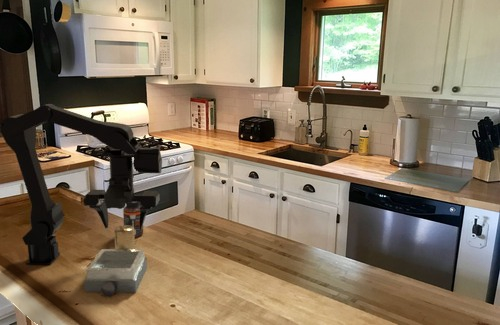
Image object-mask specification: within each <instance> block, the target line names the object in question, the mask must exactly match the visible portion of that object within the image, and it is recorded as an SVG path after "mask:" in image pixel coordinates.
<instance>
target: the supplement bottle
mask: <svg viewBox="0 0 500 325" xmlns="http://www.w3.org/2000/svg"><path fill="white" fill-rule="evenodd" d="M140 207H141V204H140V202H132V203H126V204H125V207H124V208H122V209H123V210H122V214H123V225H130V226H133V227H134V236H135V238H138V237H140V236H142V235H143V234H144V225H143V226H142V228H141V229H140V227H139V222H140Z"/></svg>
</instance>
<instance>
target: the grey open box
mask: <svg viewBox="0 0 500 325" xmlns="http://www.w3.org/2000/svg"><path fill="white" fill-rule="evenodd" d="M147 259H148V258H147V257H145V249H135V250H120V249H115V248H113V249H111V248H109V249H106V248H105V249H103V248H102V249H101V250H100V251H99V252H98V253H97V255H96V256H95V258H94V259H93V260H92V262H90V264H89V265H88V267H87V268H86V270H85V271H86V274H85V275H86V276H85V278H84V279H83V287H84V293H101V294H102V295H103V296H104V297H112V296H113V295H114V293H130V294H131V293H133V294H135V293H137V291H138V289H139V286H140V285H141V282H142V280H143V278H144V276H145V274H146V272H147V269H148V260H147Z"/></svg>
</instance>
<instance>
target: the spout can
mask: <svg viewBox="0 0 500 325" xmlns="http://www.w3.org/2000/svg"><path fill="white" fill-rule="evenodd" d="M113 231H114V234H113V235H114V249H120V250H136V243H135V242H136V241H135V240H136V239H135V238H136V237H135V236H134V227H133V226H130V225H124V224H123V225H119V226H117V227H114V229H113Z"/></svg>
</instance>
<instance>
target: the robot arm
mask: <svg viewBox="0 0 500 325" xmlns="http://www.w3.org/2000/svg"><path fill="white" fill-rule="evenodd" d="M45 123H52V124H55V125H57V126H61V127H64V128H65V129H66V128H67V129H70V130H72V131H75V132H79V133H82V134H85V135H88V136H91V137H93V138H95V139H96V140H98V141H99V142H100V143H102V144H103V145H105V146H107V147H106V149H105V150H104V151H103V152H101V154H100V156H101V157H102V158H103V157H104V158H106V157H107V158H109V176H110V178H109V179H108V187H107V189H106V190H105V189H90V191H88V192H87V193H86V194H85V195H84V196H83V205H84V206H89V209H93V210H94V211H95V212H97V215H98V216H99V218H100V220H101V222H102V224H103V226H104V228H105V229H108V228H109V212H108V210H109V209H110V210H111V209H119V210H121V209H124V207H126V203H132V202H139V203H140V204H139V205H140V206H141V207H140V222H139V227H140V229H141V228H142V226H143V227H144V222H145V219H146V217H147V213H148V211H149V210H152V209H153V208H155V207H157V206H158V204H159V202H160V193H159V192H158V190H144V191H143V193H142V194H135V188H134V177H135V176H134V173H133V172H134V170H135V172H137V173H138V174H162V170H163V169H162V168H163V157H162V153H161V148H160V147H142V145H141V144H140V142H139V141H138V140H137V139H136V137H135V136H134V131H133V129H132V128H131V126H130V125H128V124H124V123H120V122H111V121H103V120H97V119H95V118H91V117H88V116H86V115H83V114H79V113H76V112H74V111H70V110H69V109H65V108H62V107H59V106H56V105H55V104H52V103H48V104H47V103H46V104H41V105H40V106H39V107H37V108H35V109H33V110H30V111H29V112H26V113H22V114H17V115H12V116H10V117H9V116H8V117H6V118H4V119H3V120H1V123H0V134H1V137H3V139H4V142H5V143H6V144H5V145H7V146H8V147H9V149H11V150H12V151H13V153H14V154H15V156H16V160H17V164H18V167H19V169H20V172H21V177H22V179H23V182H24V186H25V189H26V191H27V196H28V199H29V202H30V205H31V206H30V207H31V208H30V214H29V215H30V216H29V221H30V227H31V229H30V230H29V231H27V233H26V234H24V235H23V237H22V238H21V239H22V241H23V242H24V245H25V246H27V253H28V259H27V260H26V262H25V264H26V265H38V266H39V265H41V266H42V265H45V266H46V265H48V266H49V265H51V264H52V263H53V262H54V261H55V260H56V259H57V258H58V257H60V255H61V252H60V250H59V243H58V242H59V241H57V238H56V235H54V234H56V233H57V231H58V230H59V228H60V227H61V226H62V225H63V223H64V217H65V216H66V215H65V213H64V212H63V209H62V207H63V206H62V203H61V202H58V203H57V202H56V203H55V202H54V201H53V199H51V196H50V192H49V190H48V185H47V182H46V180H45V177H44V173H43V169H42V167H41V163H40V160H39V157H38V154H37V153H38V152H37V150H36V149H37V148H36V145H37V129H36V128H37V127H40V126H41V125H43V124H45Z"/></svg>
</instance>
